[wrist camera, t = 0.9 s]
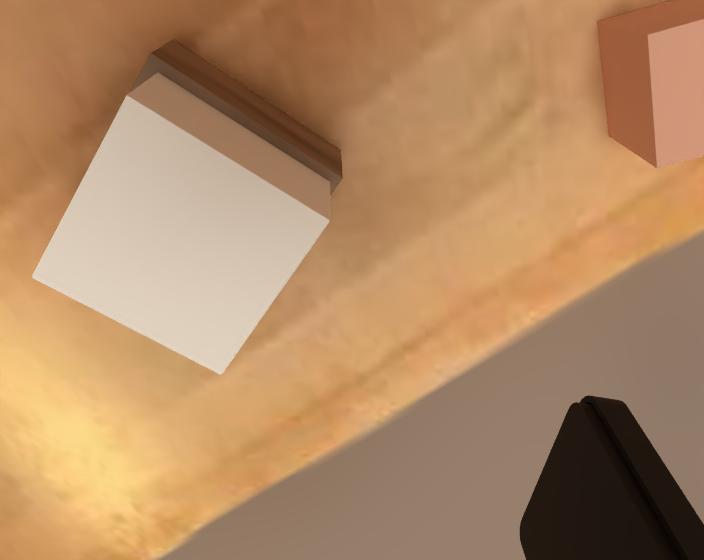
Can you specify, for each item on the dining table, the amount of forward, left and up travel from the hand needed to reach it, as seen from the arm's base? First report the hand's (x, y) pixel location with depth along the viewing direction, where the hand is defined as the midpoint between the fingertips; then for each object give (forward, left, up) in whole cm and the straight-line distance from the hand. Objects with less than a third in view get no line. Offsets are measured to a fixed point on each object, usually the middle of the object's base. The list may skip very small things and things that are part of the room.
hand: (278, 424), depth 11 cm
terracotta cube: (-11, +14, -27) cm, 32 cm away
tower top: (+7, -2, -22) cm, 23 cm away
